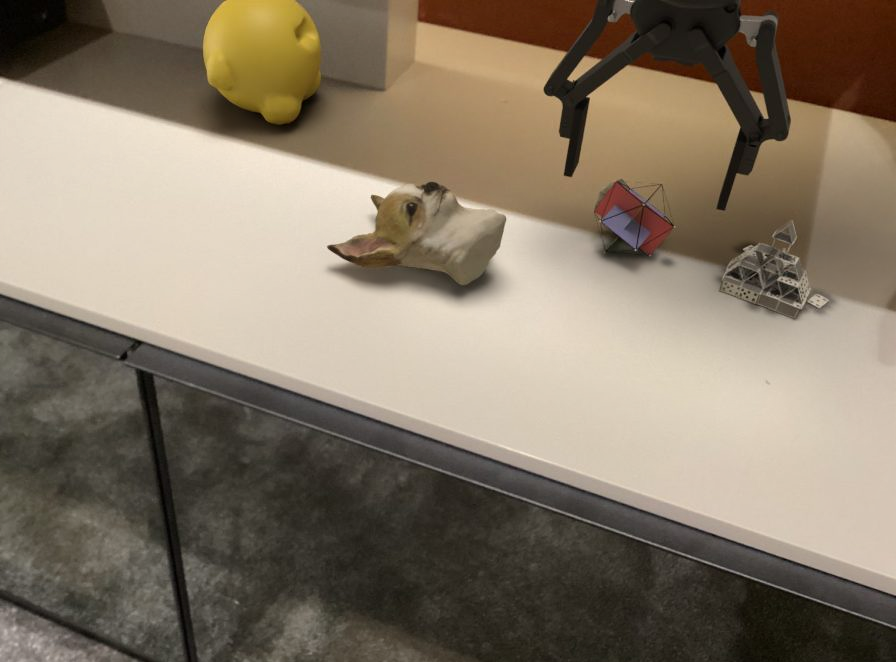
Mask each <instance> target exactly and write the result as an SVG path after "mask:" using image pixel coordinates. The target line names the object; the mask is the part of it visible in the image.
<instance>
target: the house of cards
mask: <svg viewBox="0 0 896 662" xmlns="http://www.w3.org/2000/svg"><path fill="white" fill-rule="evenodd" d="M785 229H788V233H786V232H784V230H785ZM771 238H772V239H773V242H772V244H771V246H770V245H768V244H765V243H763V242H758V244H756V245H755V246H753V245H752V244H750V245H748V246H746V247H744V248H742V250H743V252H742V253H741V254H739V255H738V256H736V257H735V258H731V260H730V262H729V263H728V265H727V266H726V267H725V272H724V274H723V277H722V278H721V281H722V282H721V283H720V284H721V285H720V287H719V290H718V292H720V291H721V292H723V293H725V294H727V295H731V296H733V297H736V298H738V299H741V300H744V301H747V302H749V303H752V304H754V305H758V306H761V307H763V308H766V309H769V310H772V311H774V312H776V313H778V314H780V315H781V314H782V315H784V316H787V317H789V318H791V319H794V320H795V319H796V317H797V316H798V313H799V312H800V310H801V311H803V309H804V308H805V306H806V303H809V304H810V305H812V306H814V307H816V308H818V309H821V308H822V307H823V306H825V305H826V304H827V303H828V302H830V299H828V298H826V297H824V296H822V294H819V293H815V294H814V295H812V296H811V297H810V298H809V297H808V296H809V294H810V292H811V289H812V286H810V282H809V278H808V273H807V270H805V269H803V267H802V264H801V260H800V257H798V256H796V255H793V254H790V253H789V251H790V249H791V247H792V246H794V244H795V242H796V240H797V238H798V236H797V233H796V229H795V225H794V221H793V219H791V220H789V221H788V222H786V223H785V224H784V225H782V226H781V227H779V228H778V229H775V231H774V232H773V234H772V236H771ZM777 240H778V241H781V242H784V243H786V244H789V246H788V248H787V250H786V247H783V248H782V249H779V248H777V247H774V246H775V243H776V241H777ZM766 255H769V256H766Z"/></svg>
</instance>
